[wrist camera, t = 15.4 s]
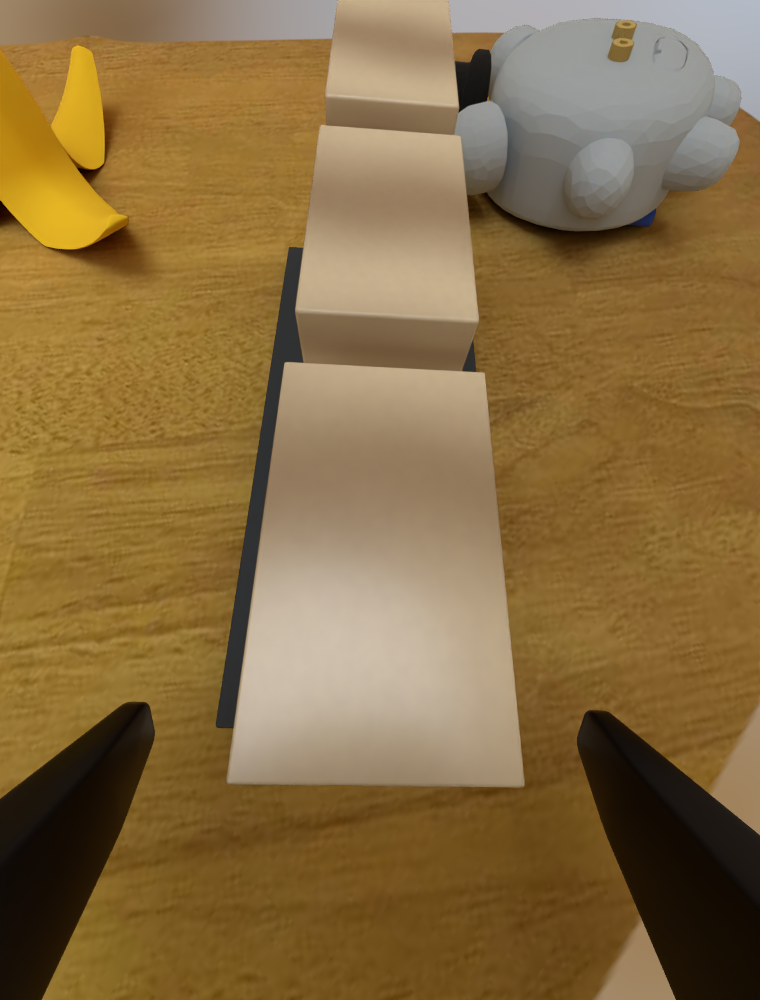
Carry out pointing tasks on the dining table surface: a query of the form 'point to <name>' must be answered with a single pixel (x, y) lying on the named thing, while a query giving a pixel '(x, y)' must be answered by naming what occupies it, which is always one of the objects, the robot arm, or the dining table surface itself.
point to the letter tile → (379, 590)
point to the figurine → (593, 122)
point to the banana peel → (55, 158)
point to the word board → (284, 351)
